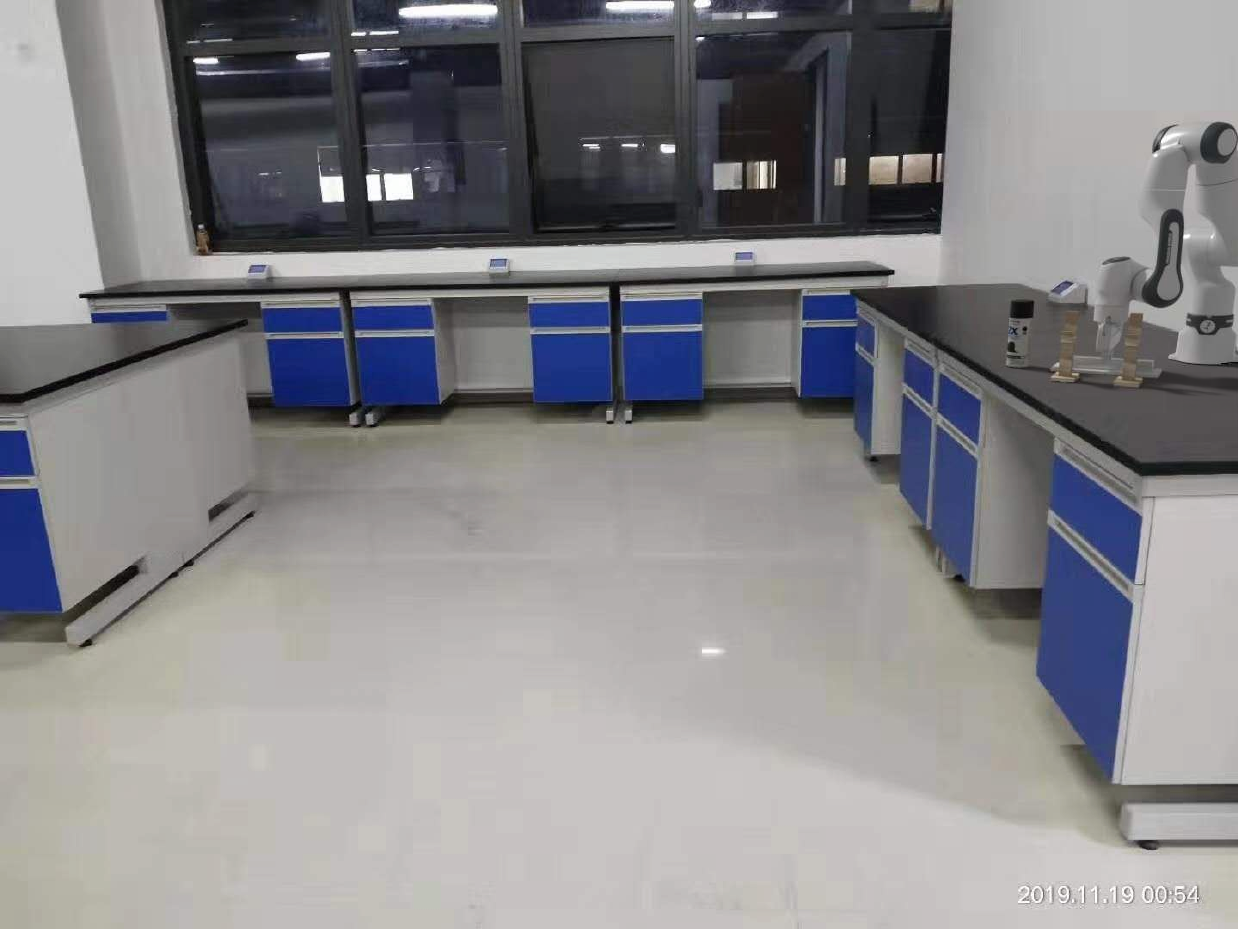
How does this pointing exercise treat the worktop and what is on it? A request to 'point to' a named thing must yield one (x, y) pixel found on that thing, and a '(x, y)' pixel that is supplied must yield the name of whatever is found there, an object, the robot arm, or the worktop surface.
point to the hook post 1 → (1067, 349)
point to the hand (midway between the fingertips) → (1106, 362)
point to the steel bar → (1110, 363)
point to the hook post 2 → (1131, 353)
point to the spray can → (1020, 333)
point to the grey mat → (1110, 371)
